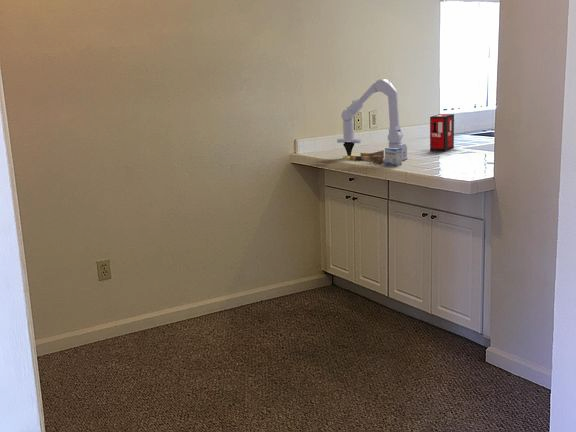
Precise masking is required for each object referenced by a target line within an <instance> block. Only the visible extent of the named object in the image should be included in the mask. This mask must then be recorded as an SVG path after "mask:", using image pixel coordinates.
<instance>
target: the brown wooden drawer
mask: <svg viewBox="0 0 576 432" xmlns="http://www.w3.org/2000/svg"><path fill="white" fill-rule="evenodd" d="M375 155H377V156H382V157H383V159H385V149H384V150H380V151H379V150H378V151H374V152H360V155H359V156H351V155H350V159H349V160H350V161H357V162H358V161H364V162H365V161H366V162H373V156H375Z"/></svg>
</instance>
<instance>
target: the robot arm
mask: <svg viewBox="0 0 576 432" xmlns="http://www.w3.org/2000/svg"><path fill="white" fill-rule="evenodd" d="M379 92H380V93H383V94H384V95H385V96H387V101H388V103H387V104H388V116H389V128H388V135H387V140H388V148H401V149H402V161H404V160H407V159H408V147H407V146H408V145H407V144H405V143H403V141H402V139H403V136H404V135H403V132H402V129H401V126H400V120H399V118H400V117H399V103H398V101H399V100H398V98H399V97H398V91H397V89H396V88H395V87H394V85H393V84H392V82H391V81H390V80H388V79H387V78H383V79H382V78H381V79H377V80H376V81H375V82H374V83H373V84H372V85H371V86H369V87H368V89H367V90H366V91H365V92H364V93H363V94H362V95H361V96H360V97H359V98H357V99H354V100H352V102H351V104H350V105H349V106H346V108H345V109H343V110H342V113H341V119H342V132H343V134H342V136H343V138H337V139H336V140H337V141H336V142H337V144H339V143H340V144H341V143H342V146H343V147H344V149H345V151H346V154H347V155H348V156H350V155H351V154H352V152H353V148H354V146H355V144H361V139H356V138H355V137H354V135H355V133H354V118H355V116H356V115H357V114H358V112H360V110H362V109H363V107H364V103H365V102H366V101H367V100H368V99H369V98H370V97H371V96H372V95H373V94H376V93H379ZM347 155H346V156H347Z"/></svg>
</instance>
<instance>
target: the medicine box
mask: <svg viewBox="0 0 576 432" xmlns="http://www.w3.org/2000/svg"><path fill="white" fill-rule="evenodd" d="M402 164H403V160H402V149H401V148H389V147H386V148H384V165H385V166H394V165H395V166H396V167H398V166H402Z"/></svg>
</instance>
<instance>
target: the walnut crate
mask: <svg viewBox="0 0 576 432" xmlns="http://www.w3.org/2000/svg"><path fill="white" fill-rule="evenodd" d="M383 159H384V158H383V157H382V156H377V155H375V156H373V161H372V163H376V165H382V164H383V162H384V161H383Z"/></svg>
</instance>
